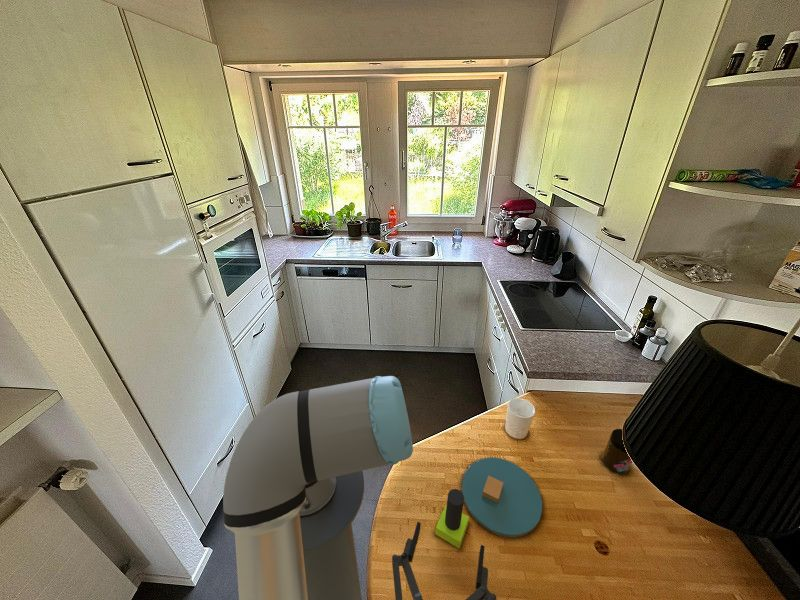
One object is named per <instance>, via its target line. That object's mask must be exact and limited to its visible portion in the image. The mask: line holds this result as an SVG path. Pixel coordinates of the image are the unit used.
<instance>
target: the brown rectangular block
mask: <svg viewBox="0 0 800 600" xmlns="http://www.w3.org/2000/svg"><path fill="white" fill-rule="evenodd" d="M502 487H503V482H501V481H499V480H497V479H495V478H493V477H491V476H488V478H487V481H486V484H485V487H484V490H483V494H482V496H483V497H485V498H487V499H489V500H491V501H493V502H495V503H497V504H498V501H499V497H500V494H501V491H502Z"/></svg>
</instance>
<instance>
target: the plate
mask: <svg viewBox="0 0 800 600" xmlns="http://www.w3.org/2000/svg"><path fill="white" fill-rule="evenodd" d="M488 476H491V477H493V478H495V479H497V480H499V481H501V482H503V487H502V491H501V494H500V497H499V501H498V504H497V503H495V502H493V501H491V500H489V499H487V498H485V497H483V496H482V494H483V490H484V487H485V484H486V481H487V478H488ZM461 492H462V493H463V495H464V505H465V507H466V509H467V511H468V513H469V514H470V515H471V517H472V518H473V520H474V521H475V522H477V523H478V524H479V525H480V526H481V527H482V528H483V529H485V530H487V531H488V532H490V533H491V534H495V535H497V536H500V537H505V538H519V537H524V536H525V535H528V534H529V533H531V532H532V531H533V530H534V529H536V527H537V525H538V524H539V522H540V520H541V517H542V514H543V500H542V496H541V493H540V490H539V488H538V486H537V484H536V483H535V481H534V479H533V478H532V477H531V476H530V475H529V473H527V472H526V471H525V470H524V469H523V468H522V467H520V466H519V465H517V464H515V463H514V462H512V461H509V460H507V459H503V458H499V457H484V458H481V459H478V460H475V461H474V462H473V463H471V464H470V465H469V466H468V467H467V469H466V470H465V472H464V474H463V476H462V482H461Z"/></svg>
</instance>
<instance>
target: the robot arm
mask: <svg viewBox="0 0 800 600" xmlns="http://www.w3.org/2000/svg"><path fill="white" fill-rule="evenodd" d="M413 451H414V444H413V437H412V430H411V424H410V420H409V414H408V410H407V405H406V400H405V396H404V392H403V388H402V383H401V382H400V380H399V378H398V377H396V376H394V375H386V376H380V375H375V377H371V378H366V379H361V380H356V381H349V382H345V383H344V382H343V383H337V384H333V385H328V386H322V387H316V388H311V389H306V390H298V391H293V392H289V393H288V392H287V393H285V394H282V395H281V396H279V397H277V398H275V399H273V400H272V401H271V402H269V403H267V404H266V405H265V406H264V407H263V408H262V409H261V410H260V411H259V412H258V413H257V414H256V415H255V416H254V417H253V418H252V420H251V421H250V423H249V424H248V425H247V426H246V429H245V430H244V432H243V433H242V435H241V436H240V439H239V441H238V442H237V444H236V446H235V449H234V451H233V454H232V456H231V457H230V462H229V464H228V468H227V471H226V476H225V481H224V487H223V493H222V495H223V497H222V507H223V509H222V510H223V525H224V528H225V529H227V530H229V531H231V532H232V533H234V539H235V540H234V543H235V544H234V545H235V557H236V572H237V573H236V575H237V587H238V600H308V596H307V586H306V575H305V565H304V555H303V545H302V535H301V524H300V517H308V516H312V515H314V514H316V513H318V512H320V511H321V510H322V509H324V508H325V507H326V506H327V505H328V504H329V502H330V501H331V499H332V498H333V496H334V494H335V491H336V486H337V480H336V477H337V476H341V475H346V474H350V473H354V472H359V471H366V470H371V469H375V468H380V467H383V466H388V465H390V466H395V465H397V464H398V463H400V462H403V461H406V460H408V459H409V458H411V457H412V455H413V453H414V452H413ZM421 525H422V523H421V522H420V521H416V525H415V529H414V532H413V536H412V538H409V537H408V538H407V539H406V542H405V546H404V549H403V552H402V553H401V555H397V554H393V555H392V557H391V565H392V566H391V567H392V575H393V577H392V578H393V587H394V597H395V600H403V591H402V579H401V572H400V567H402V569H403V573H404V576H405V579H406V582H407V585H408V588H409V591H410V594H411V597H412V600H424V599H423V596H422V593H421V591H420V588H419V585H418V583H417V580H416V578H415V574H414V572H413V569H412V566H411V563H413V559H414V556H415V553H416V548H417V544H418V540H419V537H420V533H421V527H422V526H421ZM485 548H486V547H485V545H483V544H480V546H479V552H478V560H477V571H476V582H475V591H473V593H471V594H469V596H468V597H466V599H464V600H497V599H498V598H497V596H496V594H495V593H493V592H491V591H490V590H489V588H488V579H489V569H488V567H486V566H484V559H485V558H484V557H485Z"/></svg>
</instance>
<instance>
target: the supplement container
mask: <svg viewBox="0 0 800 600" xmlns="http://www.w3.org/2000/svg"><path fill="white" fill-rule="evenodd" d="M622 429H623V428H616V429H613V430H612V432H611V434H610V436H609V439H608V442H607V443H606V445H605V448H604V450H603V453H602V455H601V460H602V462H603V464H604V465H605V467H606V468H607V469H609V470H610V471H612V472H614V473H616V474H625V473H627V472H628V471H630V469H631V466H632V464H633V462H632V461H631V459H630V457H629V456H628V454H627V452H626V450H625V447H624V444H623V440H622Z"/></svg>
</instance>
